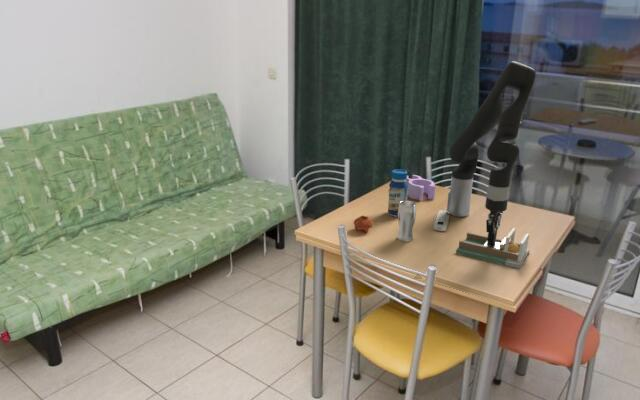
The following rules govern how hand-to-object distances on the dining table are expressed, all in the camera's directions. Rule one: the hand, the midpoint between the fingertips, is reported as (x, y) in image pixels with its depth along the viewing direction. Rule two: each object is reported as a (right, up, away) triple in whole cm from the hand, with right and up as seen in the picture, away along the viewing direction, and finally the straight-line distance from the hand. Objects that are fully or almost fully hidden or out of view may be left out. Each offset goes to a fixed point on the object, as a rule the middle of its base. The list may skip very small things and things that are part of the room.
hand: (491, 239), depth 195 cm
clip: (-15, +18, +65) cm, 69 cm away
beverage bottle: (-30, +8, +38) cm, 49 cm away
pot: (-47, +2, +21) cm, 51 cm away
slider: (+1, -3, 0) cm, 4 cm away
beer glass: (-30, -1, +13) cm, 33 cm away
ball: (+7, -3, -3) cm, 8 cm away
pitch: (+1, -5, +1) cm, 5 cm away
